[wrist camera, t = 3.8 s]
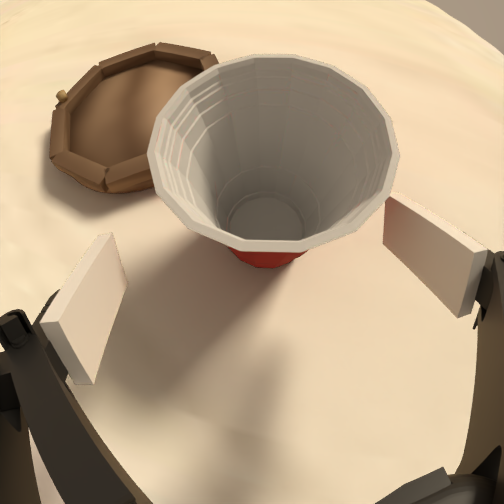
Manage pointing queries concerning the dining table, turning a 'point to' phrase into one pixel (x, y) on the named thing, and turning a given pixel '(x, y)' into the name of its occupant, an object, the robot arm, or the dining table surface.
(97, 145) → the octagonal wooden tray
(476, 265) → the robot arm
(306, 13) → the dining table surface
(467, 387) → the dining table surface
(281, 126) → the plastic cup
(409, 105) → the dining table surface
